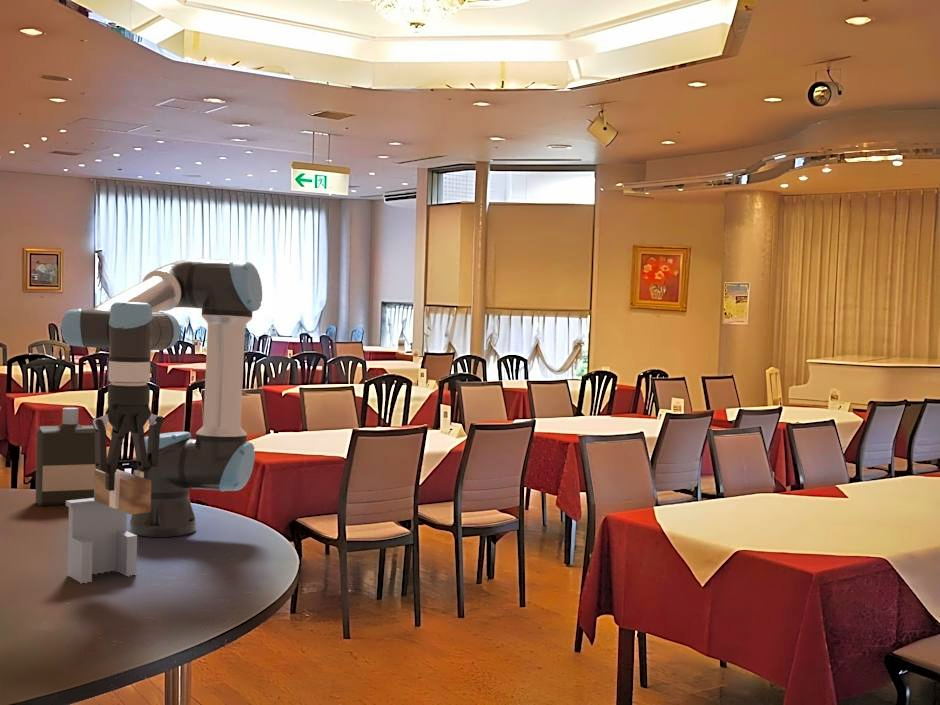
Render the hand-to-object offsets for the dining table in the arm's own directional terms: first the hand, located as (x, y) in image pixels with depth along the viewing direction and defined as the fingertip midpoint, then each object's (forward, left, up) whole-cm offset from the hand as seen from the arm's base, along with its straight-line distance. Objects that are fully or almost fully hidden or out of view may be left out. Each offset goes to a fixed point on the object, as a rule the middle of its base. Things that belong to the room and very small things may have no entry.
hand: (126, 505), depth 193 cm
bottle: (-21, -81, -16) cm, 86 cm away
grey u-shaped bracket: (0, -10, -16) cm, 19 cm away
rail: (0, -2, 0) cm, 2 cm away
